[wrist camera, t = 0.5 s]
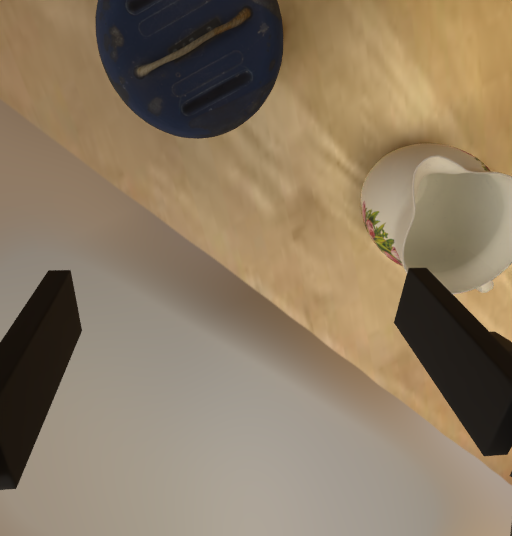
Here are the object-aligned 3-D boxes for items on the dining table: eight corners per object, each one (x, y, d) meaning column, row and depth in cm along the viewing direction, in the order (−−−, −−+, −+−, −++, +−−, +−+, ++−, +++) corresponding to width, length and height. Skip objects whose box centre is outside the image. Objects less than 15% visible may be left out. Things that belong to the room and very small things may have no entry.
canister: (121, -13, 32) (42, -65, 16) (238, -40, 32) (272, -117, 16) (158, 113, 37) (125, 166, 21) (261, 90, 37) (304, 125, 21)
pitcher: (397, 276, 48) (461, 354, 36) (310, 161, 41) (355, 211, 29) (480, 218, 46) (578, 281, 34) (405, 84, 38) (498, 103, 26)
